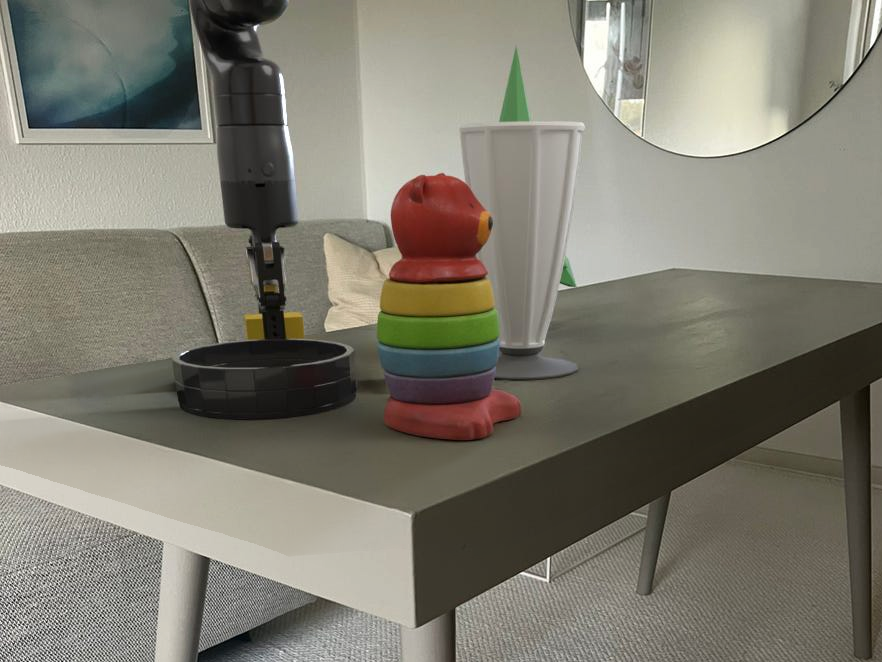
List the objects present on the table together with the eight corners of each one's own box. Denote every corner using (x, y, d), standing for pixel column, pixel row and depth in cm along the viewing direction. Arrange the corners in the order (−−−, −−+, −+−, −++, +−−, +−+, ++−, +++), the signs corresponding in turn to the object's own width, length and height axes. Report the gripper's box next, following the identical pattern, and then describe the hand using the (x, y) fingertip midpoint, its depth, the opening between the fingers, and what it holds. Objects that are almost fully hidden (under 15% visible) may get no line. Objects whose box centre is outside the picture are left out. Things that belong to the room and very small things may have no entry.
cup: (592, 377, 94) (602, 120, 84) (473, 383, 92) (470, 121, 83) (561, 356, 104) (567, 125, 95) (454, 361, 102) (448, 126, 93)
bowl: (177, 424, 78) (169, 373, 76) (181, 388, 92) (175, 343, 90) (367, 412, 81) (364, 362, 80) (344, 378, 95) (341, 335, 93)
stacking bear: (480, 443, 72) (476, 172, 64) (356, 433, 75) (339, 174, 67) (528, 412, 81) (530, 171, 73) (415, 403, 84) (406, 173, 76)
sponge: (249, 358, 106) (245, 319, 104) (248, 352, 109) (244, 314, 107) (306, 355, 107) (302, 316, 105) (303, 349, 110) (299, 311, 109)
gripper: (218, 177, 106) (236, 333, 113) (220, 177, 93) (240, 354, 100) (289, 176, 107) (302, 330, 114) (300, 176, 95) (314, 350, 102)
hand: (273, 341), depth 107 cm, fingers open, 8 cm apart
